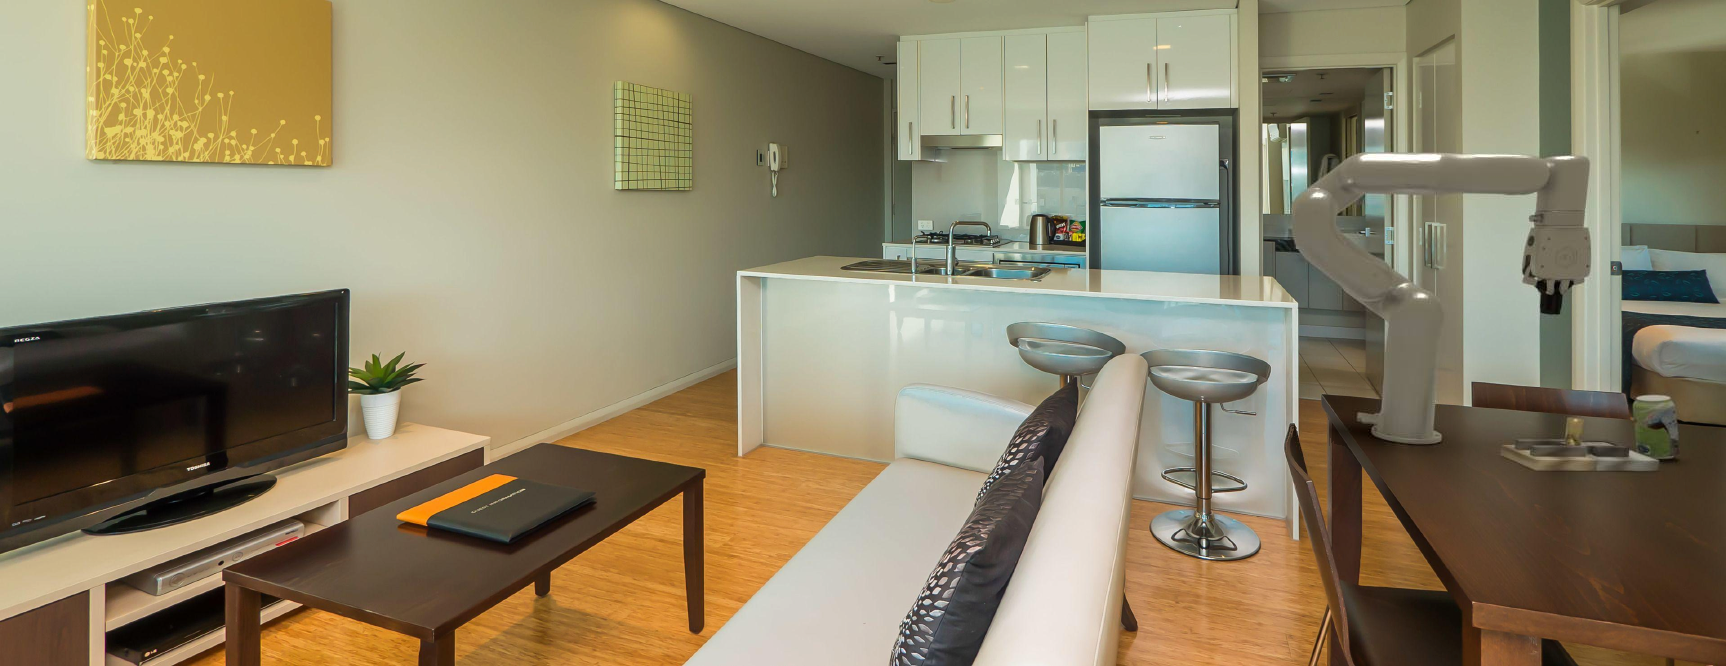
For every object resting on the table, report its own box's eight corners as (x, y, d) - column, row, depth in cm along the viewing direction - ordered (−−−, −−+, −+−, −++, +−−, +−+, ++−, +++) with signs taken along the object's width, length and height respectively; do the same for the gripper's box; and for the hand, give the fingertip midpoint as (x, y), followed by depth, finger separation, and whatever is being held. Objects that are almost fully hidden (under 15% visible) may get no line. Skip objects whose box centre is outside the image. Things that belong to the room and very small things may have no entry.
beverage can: (1686, 462, 160) (1694, 400, 159) (1641, 461, 162) (1648, 399, 160) (1663, 453, 167) (1670, 392, 165) (1619, 451, 168) (1626, 392, 166)
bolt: (1568, 453, 160) (1571, 420, 159) (1559, 450, 163) (1562, 417, 162) (1613, 453, 160) (1617, 420, 159) (1603, 450, 162) (1607, 417, 161)
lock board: (1535, 470, 158) (1537, 450, 157) (1500, 454, 168) (1502, 436, 167) (1658, 471, 156) (1660, 451, 155) (1615, 455, 166) (1617, 436, 165)
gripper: (1531, 221, 163) (1522, 316, 166) (1615, 220, 162) (1605, 316, 164) (1505, 220, 170) (1497, 312, 173) (1585, 219, 169) (1576, 311, 172)
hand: (1550, 313), depth 169 cm, fingers closed
